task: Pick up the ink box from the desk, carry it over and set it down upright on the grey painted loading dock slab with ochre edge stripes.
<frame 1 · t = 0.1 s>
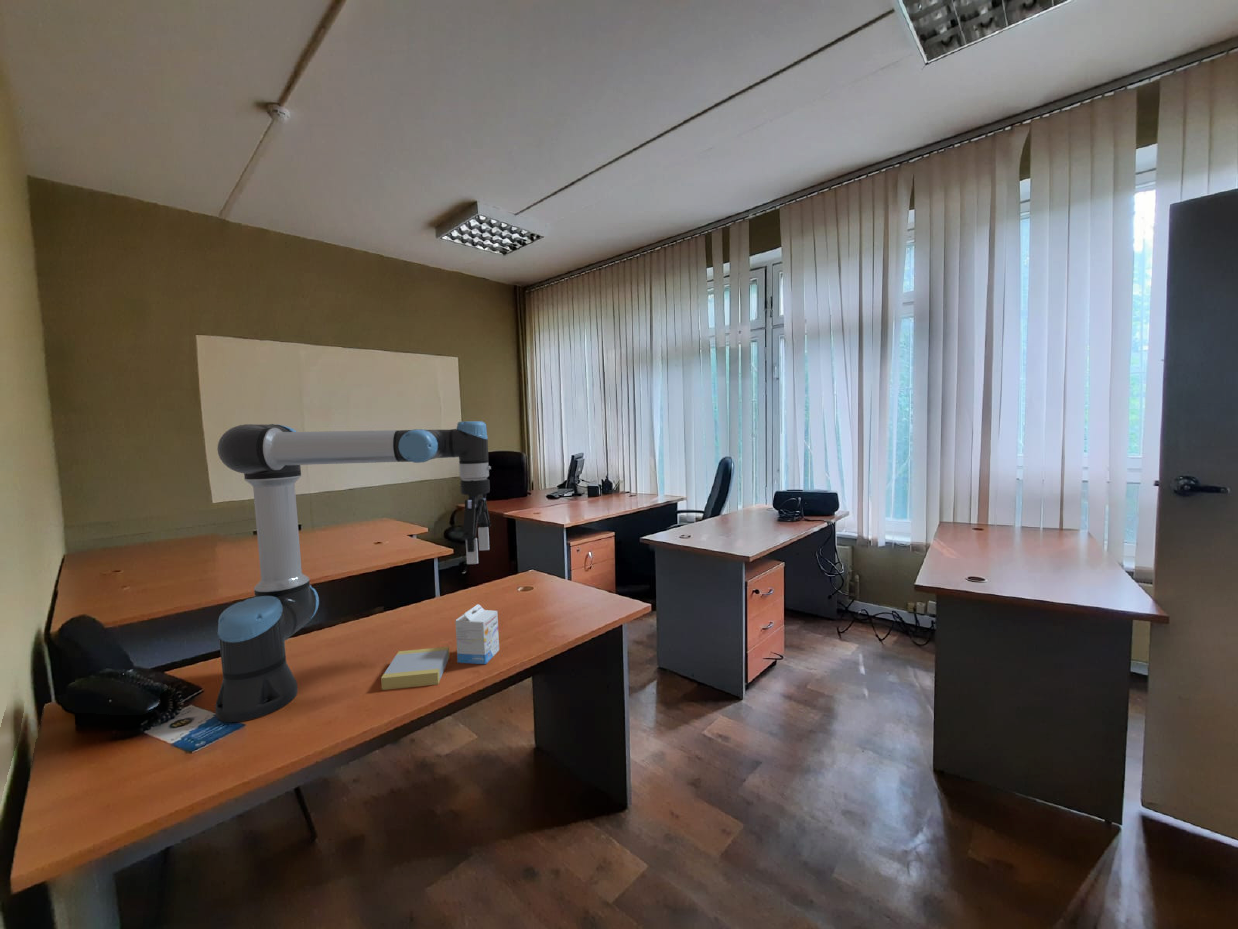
hand: (478, 556, 129), 28 cm above the table, fingers open, 13 cm apart
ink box: (478, 657, 130), on the table
dock: (417, 672, 122), on the table
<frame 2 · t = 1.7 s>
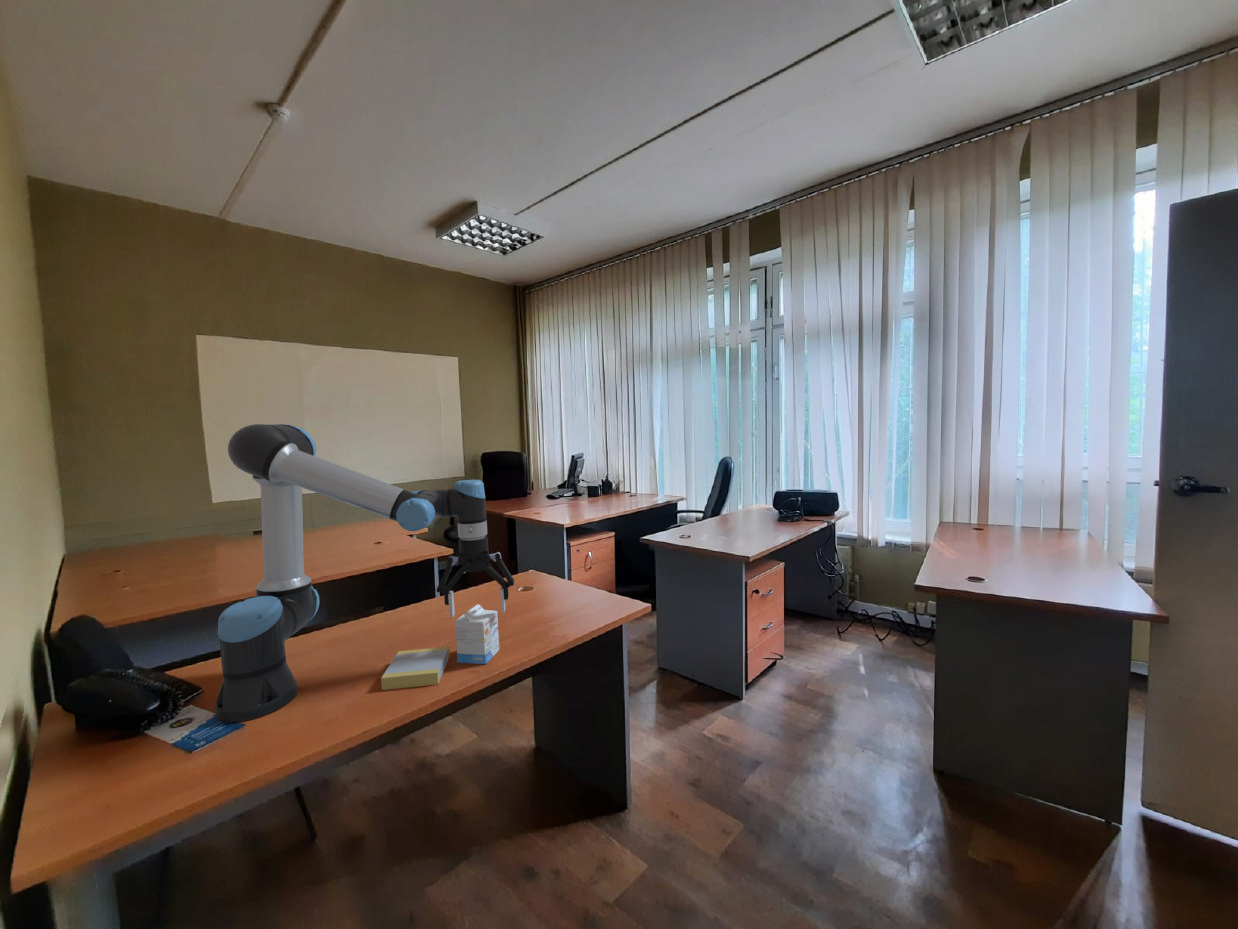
hand: (478, 613, 129), 12 cm above the table, fingers open, 13 cm apart
nothing on the table moved.
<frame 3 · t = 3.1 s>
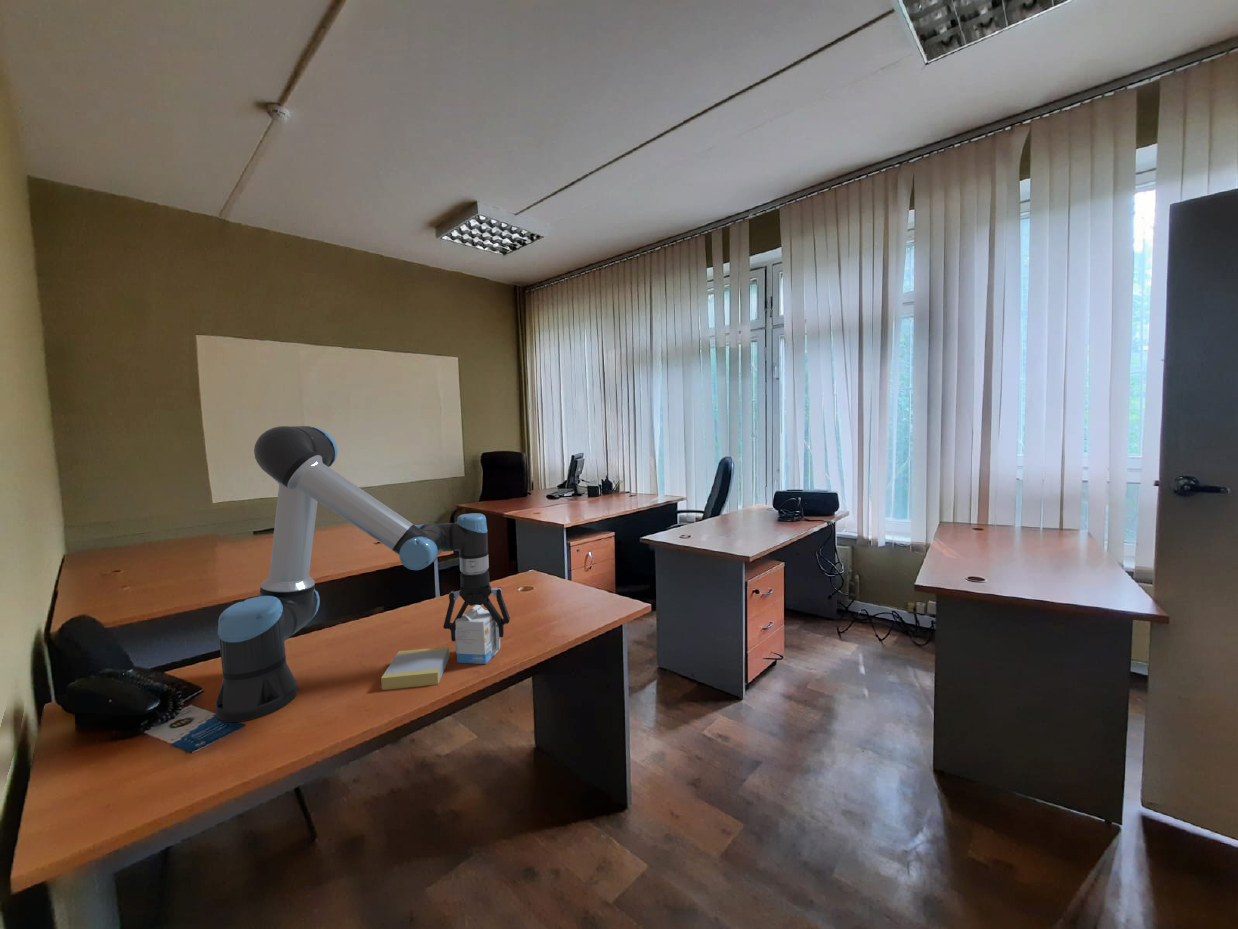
hand: (478, 650, 130), 2 cm above the table, fingers closed on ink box, 10 cm apart
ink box: (478, 657, 130), on the table, touching gripper
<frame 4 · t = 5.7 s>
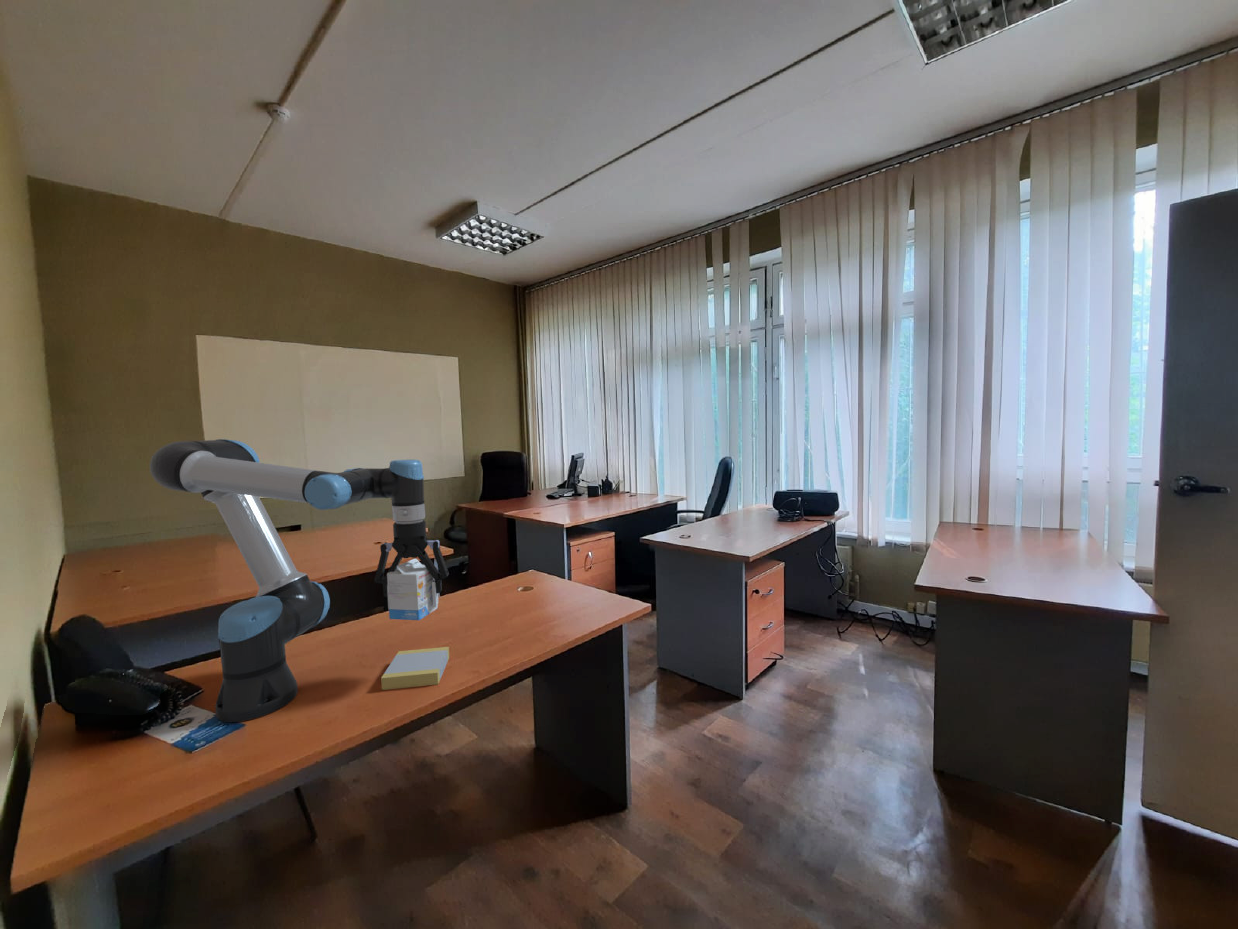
hand: (413, 606, 121), 17 cm above the table, fingers closed on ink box, 10 cm apart
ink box: (414, 614, 121), point 15 cm above the table, touching gripper
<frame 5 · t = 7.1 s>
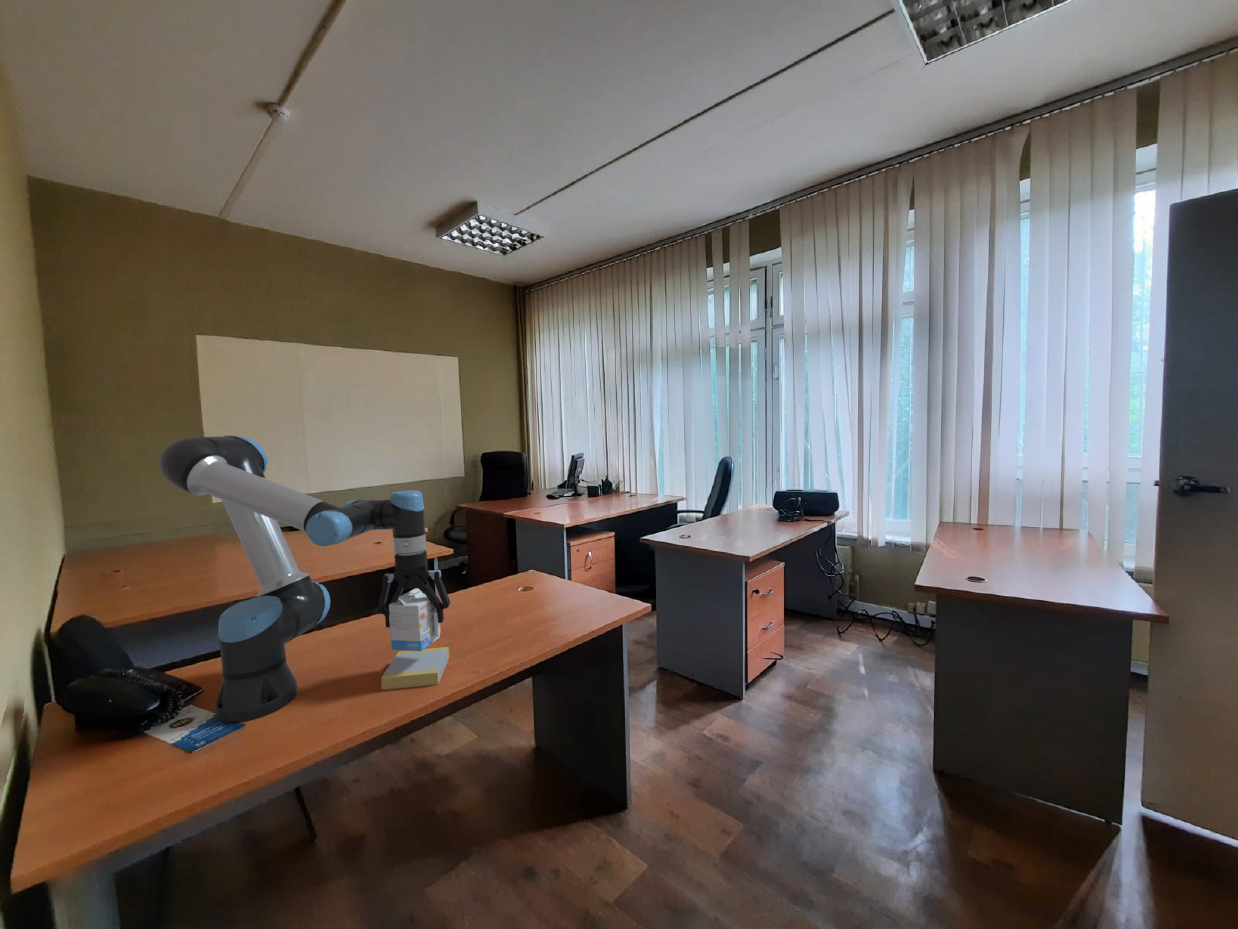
hand: (416, 636, 121), 10 cm above the table, fingers closed on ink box, 10 cm apart
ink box: (416, 644, 122), point 8 cm above the table, touching gripper
when the fingers open (6 cm above the table, at t = 8.3 s): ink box drops 1 cm, resting on dock.
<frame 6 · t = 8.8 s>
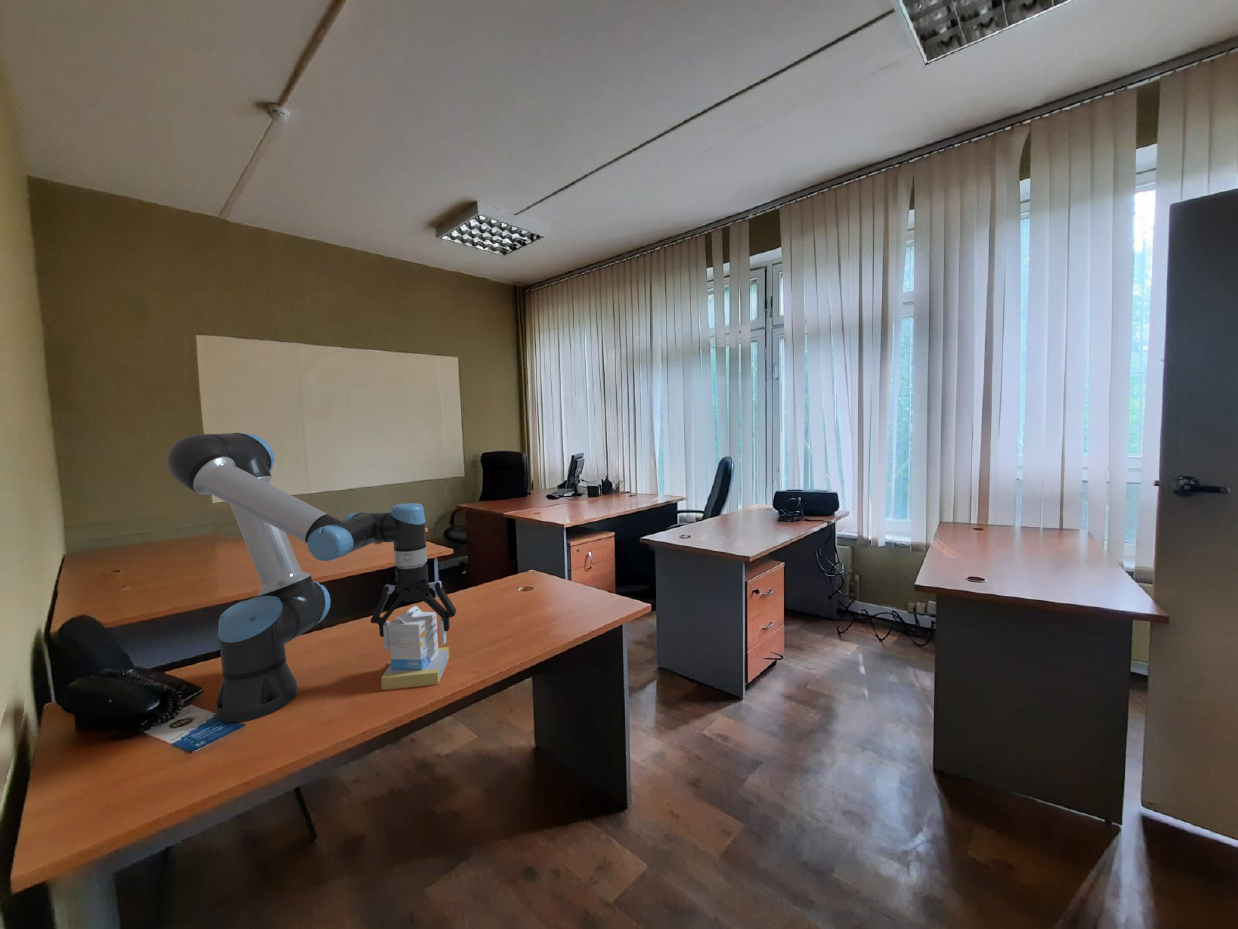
hand: (416, 645, 122), 7 cm above the table, fingers open, 13 cm apart
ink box: (415, 662, 122), point 3 cm above the table, touching dock
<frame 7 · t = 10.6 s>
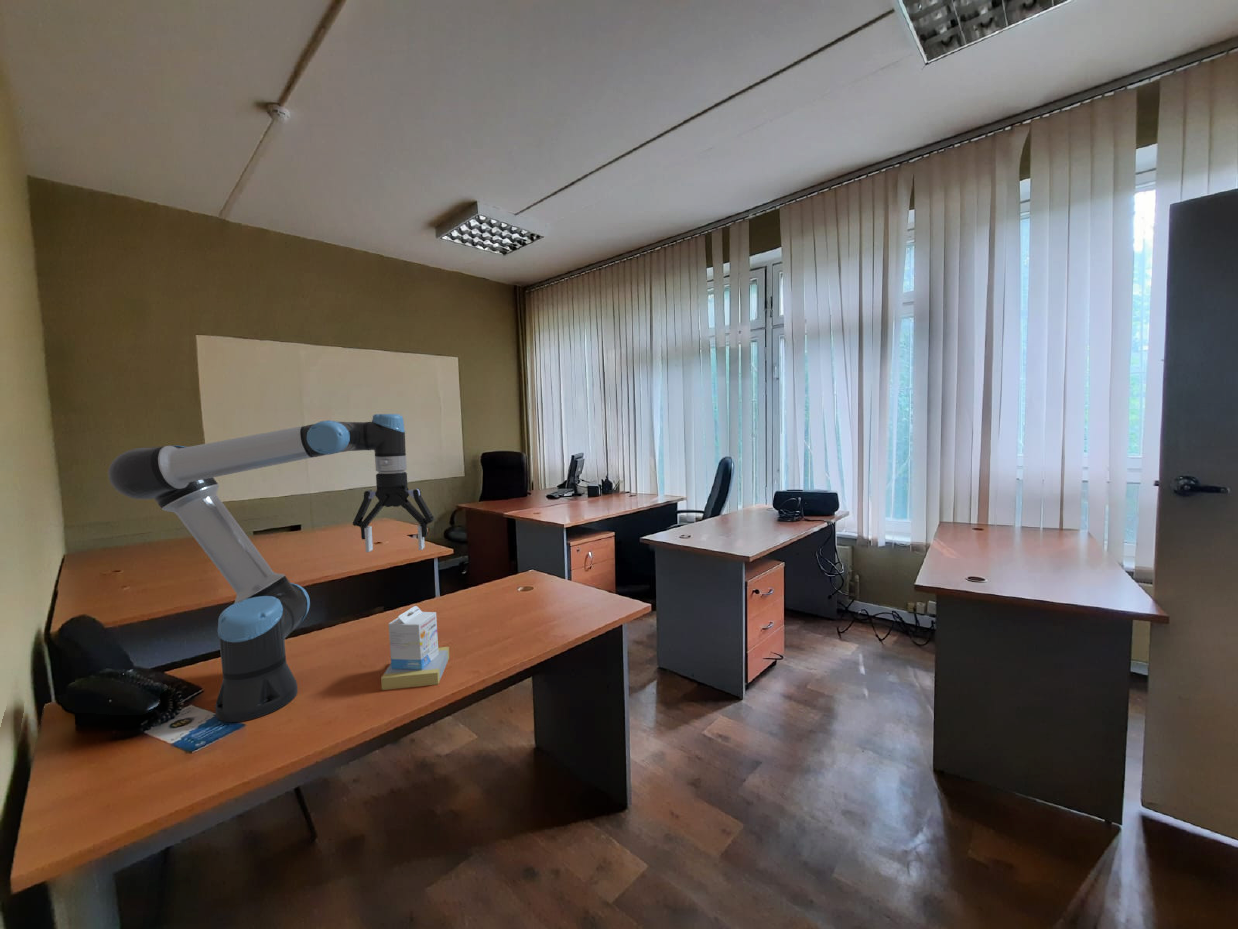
hand: (395, 550, 128), 30 cm above the table, fingers open, 13 cm apart
nothing on the table moved.
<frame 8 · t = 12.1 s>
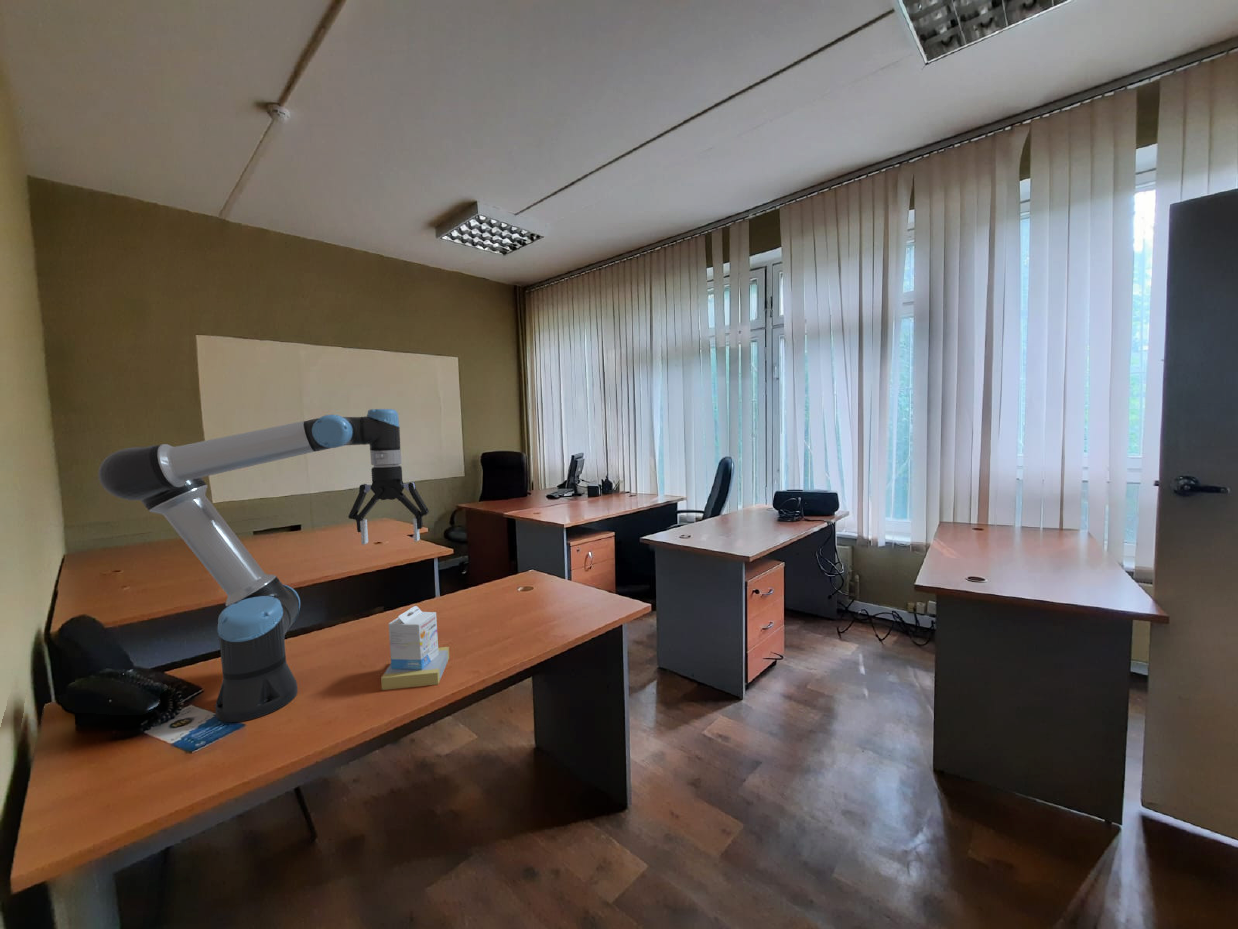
hand: (391, 542, 131), 32 cm above the table, fingers open, 13 cm apart
nothing on the table moved.
at the end: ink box inside the target area on the dock (0.4 cm from its centre), point 2.8 cm above the dock's base; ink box tilted 0°; the gripper is holding nothing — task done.
